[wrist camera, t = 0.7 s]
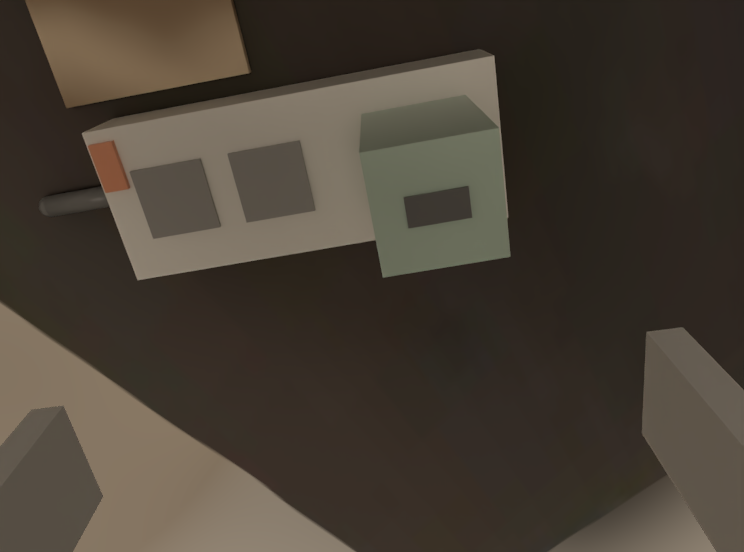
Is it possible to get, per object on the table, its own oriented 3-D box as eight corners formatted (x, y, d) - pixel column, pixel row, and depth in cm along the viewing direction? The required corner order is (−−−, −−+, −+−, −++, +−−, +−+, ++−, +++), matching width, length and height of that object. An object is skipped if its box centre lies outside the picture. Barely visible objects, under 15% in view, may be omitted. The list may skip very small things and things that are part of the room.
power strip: (72, 266, 36) (36, 299, 32) (16, 136, 33) (-31, 154, 29) (493, 194, 34) (509, 219, 31) (479, 48, 31) (495, 56, 27)
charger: (361, 106, 30) (359, 153, 21) (459, 88, 30) (500, 128, 21) (378, 199, 32) (383, 279, 23) (470, 183, 32) (511, 258, 23)
